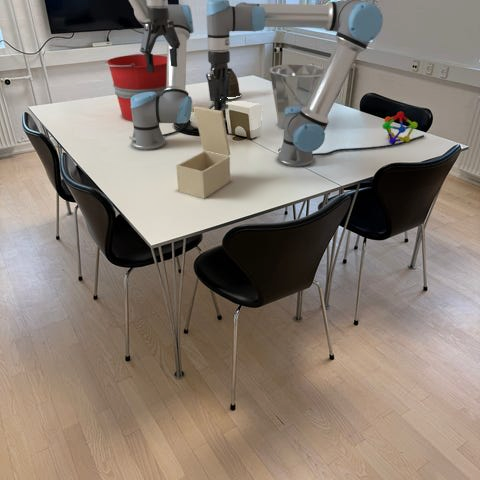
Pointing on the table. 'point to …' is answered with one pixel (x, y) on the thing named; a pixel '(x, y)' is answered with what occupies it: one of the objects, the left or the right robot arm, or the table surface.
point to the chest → (203, 174)
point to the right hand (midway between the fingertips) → (220, 118)
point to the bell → (234, 86)
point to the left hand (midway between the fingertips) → (162, 69)
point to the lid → (212, 129)
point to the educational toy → (398, 128)
